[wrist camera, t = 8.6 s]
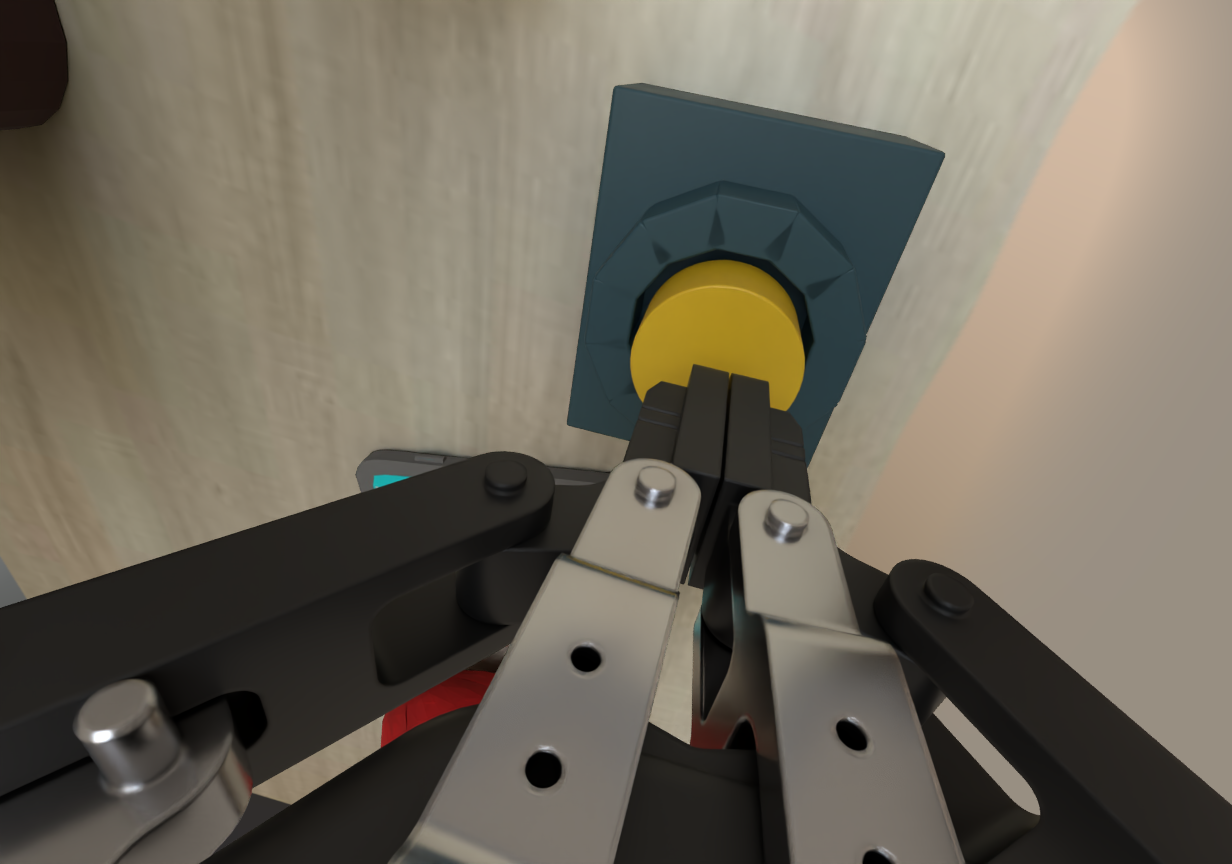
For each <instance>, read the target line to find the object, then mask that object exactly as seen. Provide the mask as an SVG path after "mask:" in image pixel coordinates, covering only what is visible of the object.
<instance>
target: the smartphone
mask: <svg viewBox="0 0 1232 864" xmlns="http://www.w3.org/2000/svg"><path fill="white" fill-rule="evenodd" d="M466 459H469V458H459V457H450V456H441V455H431V454H422V453H412V452H403V451H389V450H381V451H375V452H372V453H371V454H370V455H369V456H368V457H367V458H365V459H364V460H363V461H362V462H361V464H360V465H359V466H358V468H357V471H356V478H357V481H358V484H359V487H360V491H361V493H362V492H365V491H369V490H372V489H375V488H378V487H381V486H384V485H387V484H391V483H394V482H397V481H400V480H403V479H406V478H409V477H413V476H416V475H419V474H422V473H425V472H428V471H431V470H434V469H438V468H441V467H444V466H447V465H450V464H453V463H456V462H460V461H463V460H466ZM547 468H548V469H549V470H550V471H551V473H552V475H553V476H554V480H555V485H589V484H595V483H599V482H602V481H604V480H607V479H608V478H609V475H610V473H601V472H592V471H582V470H573V469H563V468H554V467H547Z"/></svg>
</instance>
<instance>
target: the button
mask: <svg viewBox="0 0 1232 864" xmlns="http://www.w3.org/2000/svg"><path fill="white" fill-rule="evenodd" d="M693 364H697V365H702V366H706V367H710V368H714V369H718V370H722V371H727V372H729V378H730V375H731V373H735V374H739V375H744V376H748V377H752V378H756V379H760V380H764V381H768V382H769V393H770V407H771V408H775V409H779V410H783V411H787V410H788V408H789V407H790V406H791V404H792V403H793V401H794V400H795V398H796V396H797V394H798V392H799V390H800V387H801V384H802V381H803V376H804V370H805V356H804V349H803V343H802V338H801V333H800V328H799V323H798V317H797V314H796V310H795V307H794V305H793V303H792V301H791V299H790V297H789V295H788V294H787V292H786V291H785V289H784V288H783V287H782V286H781V285H780V284H779V283H778V282H777V281H776V280H775V279H774V278H773V277H771V276H770V275H769V274H767V273H766V272H764V271H763V270H761V269H759V268H757V267H754V266H752V265H750V264H746V263H743V262H739V261H732V260H712V261H705V262H701V263H697V264H694V265H692V266H689V267H687V268H685V269H683V270H681V271H679V272H677V273H676V274H675V275H673V276H672V277H671V278H669V279H668V280H667V281H666V282H665V283H664V284H663V285H662V286H661V287H660V288H659V290H658V291H657V292H656V293H655V295H654V297H653V298H652V300H651V301H650V304H649V306H648V308H647V311H646V313H645V315H644V317H643V320H642V322H641V324H640V327H639V329H638V331H637V334H636V336H635V338H634V341H633V345H632V349H631V357H630V369H631V375H632V380H633V384H634V387H635V389H636V392H637V394H638V396H639V398H640V399H641V401H642V403H643V401H644V398H645V395H646V392H647V390H649V389H650V388H652V387H653V386H655V385H656V384H658V383H659V382H660V381H664V382H668V383H672V384H677V385H681V386H685V387H687V384H688V381H689V377H690V373H691V370H692V366H693Z"/></svg>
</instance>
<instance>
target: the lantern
mask: <svg viewBox="0 0 1232 864" xmlns="http://www.w3.org/2000/svg"><path fill="white" fill-rule="evenodd" d="M67 82H68V76H67V56H66V42H65V38H64V35H63V32H62V28H61V25H60V22H59V18H58V15H57V11H56V8H55V5H54V1H53V0H0V130H11V129H20V128H26V127H31V126H37V125H42V124H43V123H44V122H45V121H46V120H47V119H48V118H49V117H50V116H52V115H53V114H54V113H55V112H56V111H57V110H58V109H59V107H60V104H61V101H62V98H63V94H64V91H65V88H66V85H67Z"/></svg>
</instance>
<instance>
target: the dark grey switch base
mask: <svg viewBox="0 0 1232 864" xmlns="http://www.w3.org/2000/svg"><path fill="white" fill-rule="evenodd" d="M944 158H945V153H944V152H942V151H940V150H937V149H935V148H932V147H930V146H928V145H925V144H923V143H920V142H918V141H915V140H913V139H911V138H908V137H906V136H901V135H896V134H891V133H886V132H881V131H876V130H871V129H866V128H861V127H856V126H852V125H847V124H842V123H837V122H832V121H827V120H822V119H817V118H812V117H807V116H802V115H797V114H792V113H787V112H783V111H778V110H773V109H768V108H763V107H758V106H753V105H748V104H743V103H738V102H733V101H728V100H723V99H718V98H713V97H709V96H704V95H699V94H694V93H689V92H684V91H679V90H674V89H669V88H664V87H659V86H654V85H649V84H644V83H638V84H628V85H618V86H615V87H614V89H613V95H612V103H611V110H610V117H609V124H608V131H607V138H606V146H605V153H604V160H603V167H602V174H601V182H600V189H599V196H598V203H597V210H596V217H595V225H594V232H593V239H592V246H591V253H590V260H589V268H588V275H587V282H586V289H585V296H584V303H583V311H582V318H581V325H580V332H579V339H578V346H577V354H576V361H575V368H574V375H573V382H572V389H571V397H570V404H569V411H568V418H567V425H569V426H572V427H576V428H580V429H584V430H588V431H592V432H596V433H600V434H604V435H608V436H612V437H616V438H620V439H624V440H628V441H630V440H631V437H632V434H633V431H634V428H635V425H636V422H637V420H638V416H639V413H640V410H641V408H642V404H643V403H642V401H641V399H640V398H639V396H638V394H637V392H636V389H635V387H634V384H633V380H632V375H631V369H630V357H631V349H632V345H633V341H634V338H635V336H636V334H637V331H638V329H639V327H640V324H641V322H642V320H643V317H644V315H645V313H646V311H647V308H648V306H649V304H650V301H651V300H652V298H653V297H654V295H655V293H656V292H657V291H658V290H659V288H660V287H661V286H662V285H663V284H664V283H665V282H666V281H667V280H668V279H669V278H671V277H672V276H673V275H675V274H676V273H677V272H679V271H681V270H683V269H685V268H687V267H689V266H692V265H694V264H697V263H701V262H705V261H712V260H732V261H739V262H743V263H746V264H750V265H752V266H754V267H757V268H759V269H761V270H763V271H764V272H766V273H767V274H769V275H770V276H771V277H773V278H774V279H775V280H776V281H777V282H778V283H779V284H780V285H781V286H782V287H783V288H784V289H785V291H786V292H787V294H788V295H789V297H790V299H791V301H792V303H793V305H794V307H795V310H796V314H797V317H798V323H799V328H800V333H801V338H802V343H803V349H804V356H805V370H804V376H803V381H802V384H801V387H800V390H799V392H798V394H797V396H796V398H795V400H794V401H793V403H792V404H791V406H790V407H789V408H788V410H787V411H788V412H790V414H791V415H792V416H793V418H794V419H795V420H796V422H797V423H798V424H799V426H800V427H801V428H802V434H803V441H804V446H803V448H804V449H805V457H806V459H805V462H806V465H807V468H808V466H809V463H810V461H811V459H812V457H813V454H814V452H815V450H816V448H817V445H818V443H819V441H820V439H821V436H822V434H823V432H824V429H825V427H826V425H827V423H828V420H829V418H830V416H831V414H832V411H833V409H834V407H836V406H837V403H838V402H839V401H840V399H841V397H842V395H843V392H844V390H845V388H846V386H847V383H848V381H849V379H850V377H851V374H852V372H853V370H854V368H855V365H856V363H857V361H858V359H859V356H860V354H861V352H862V350H863V347H864V345H865V343H866V337H867V336H866V334H867V332H868V330H869V328H870V325H871V323H872V321H873V319H874V316H875V314H876V312H877V309H878V307H879V305H880V303H881V300H882V298H883V296H884V294H885V291H886V289H887V287H888V285H889V282H890V280H891V278H892V275H893V273H894V271H895V269H896V266H897V264H898V262H899V260H900V257H901V255H902V253H903V251H904V248H905V246H906V244H907V241H908V239H909V237H910V235H911V232H912V230H913V228H914V226H915V223H916V221H917V219H918V217H919V214H920V212H921V210H922V208H923V205H924V203H925V201H926V198H927V196H928V194H929V192H930V189H931V187H932V185H933V183H934V180H935V178H936V176H937V174H938V171H939V169H940V167H941V164H942V162H943V160H944Z"/></svg>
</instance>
